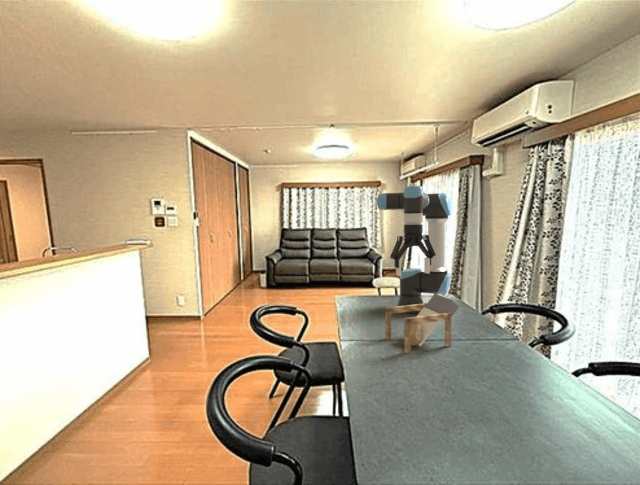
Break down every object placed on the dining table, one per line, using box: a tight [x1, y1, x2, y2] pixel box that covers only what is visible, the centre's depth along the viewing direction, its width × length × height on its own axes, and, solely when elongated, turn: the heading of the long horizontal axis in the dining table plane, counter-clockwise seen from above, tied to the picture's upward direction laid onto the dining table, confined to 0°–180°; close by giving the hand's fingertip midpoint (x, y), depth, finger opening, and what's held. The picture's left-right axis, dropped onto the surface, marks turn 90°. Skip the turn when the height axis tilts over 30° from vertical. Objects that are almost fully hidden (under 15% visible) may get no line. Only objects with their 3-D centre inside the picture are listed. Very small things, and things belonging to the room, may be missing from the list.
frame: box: [384, 302, 453, 354], centre depth 152 cm, size 21×18×14 cm
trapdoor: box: [402, 294, 460, 347], centre depth 154 cm, size 24×14×5 cm
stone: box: [402, 323, 422, 347], centre depth 150 cm, size 8×10×4 cm
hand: (413, 274), depth 149 cm, fingers open, 13 cm apart
